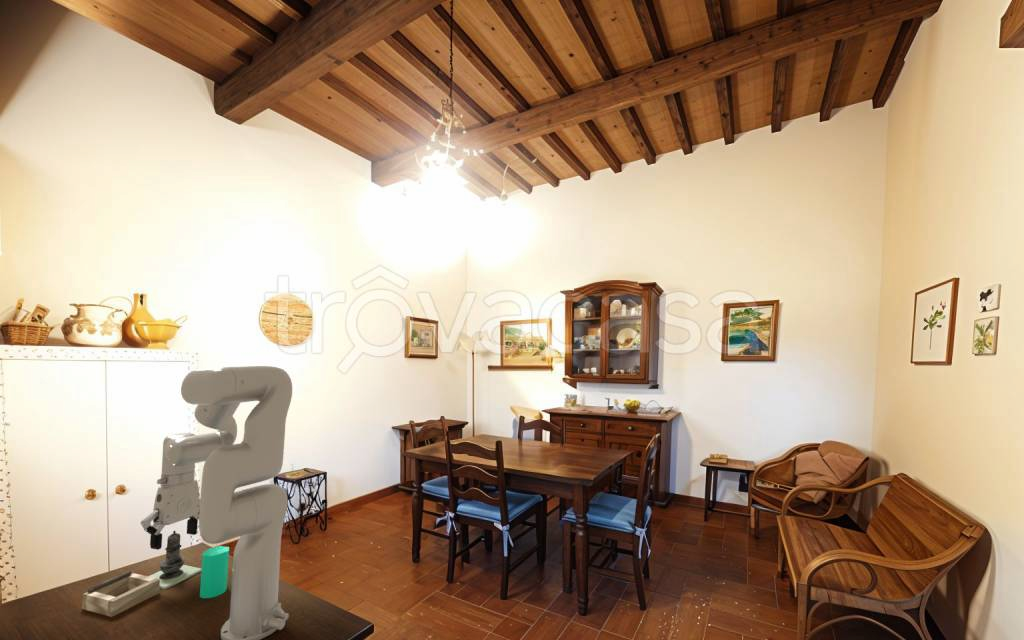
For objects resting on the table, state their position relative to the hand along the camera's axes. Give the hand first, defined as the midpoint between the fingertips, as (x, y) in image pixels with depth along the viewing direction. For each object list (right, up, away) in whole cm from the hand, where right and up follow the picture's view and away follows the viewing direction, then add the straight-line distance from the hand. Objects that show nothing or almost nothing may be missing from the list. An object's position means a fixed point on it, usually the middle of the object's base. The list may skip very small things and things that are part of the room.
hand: (174, 541), depth 120 cm
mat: (-1, -10, 0) cm, 10 cm away
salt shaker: (-1, -9, 0) cm, 9 cm away
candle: (+16, -10, -7) cm, 20 cm away
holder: (-4, -9, -12) cm, 15 cm away
